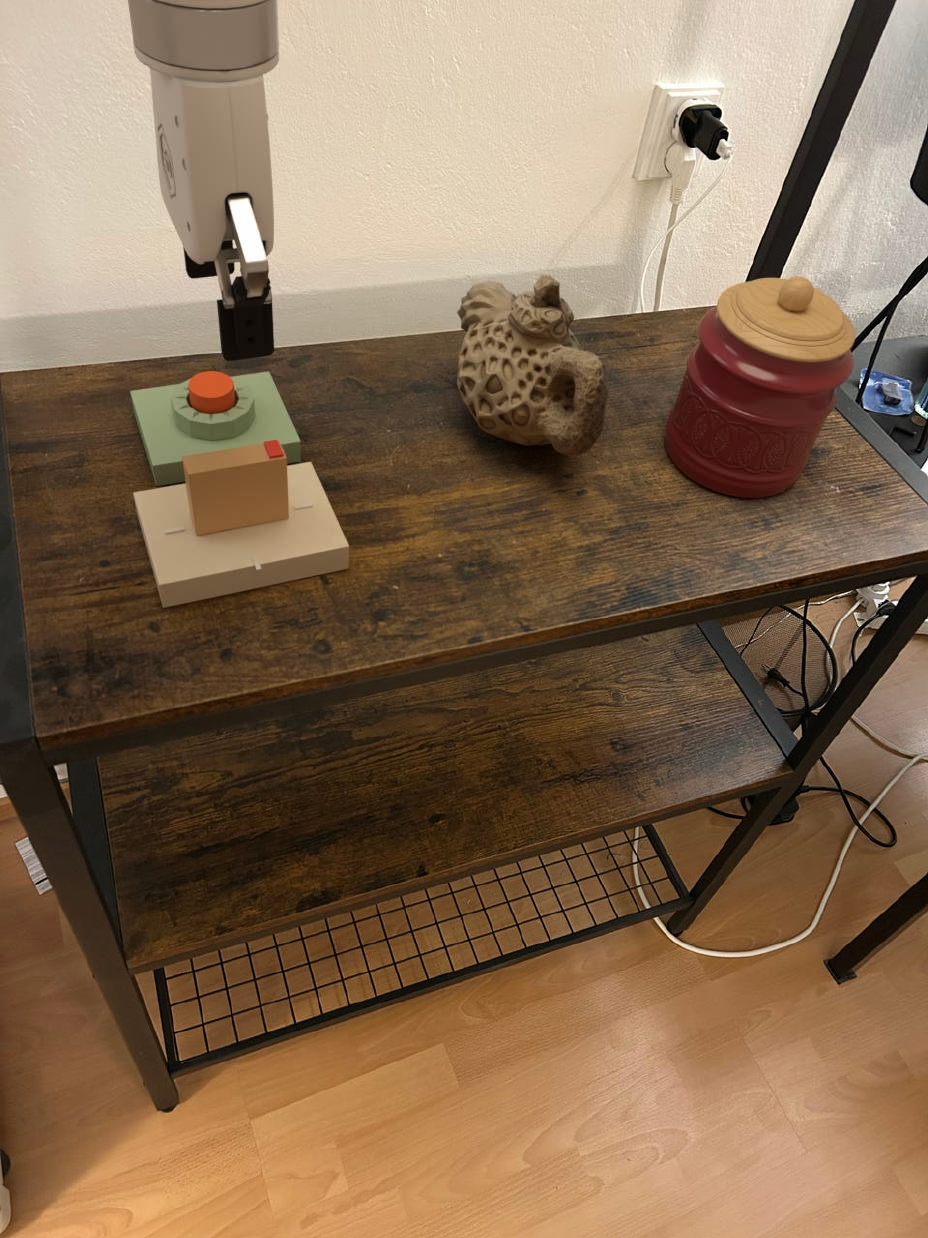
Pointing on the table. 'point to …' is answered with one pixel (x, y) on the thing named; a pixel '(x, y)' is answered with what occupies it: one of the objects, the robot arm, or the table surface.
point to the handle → (237, 487)
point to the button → (211, 392)
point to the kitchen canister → (759, 386)
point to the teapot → (529, 368)
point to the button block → (210, 424)
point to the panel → (240, 543)
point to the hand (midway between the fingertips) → (228, 313)
